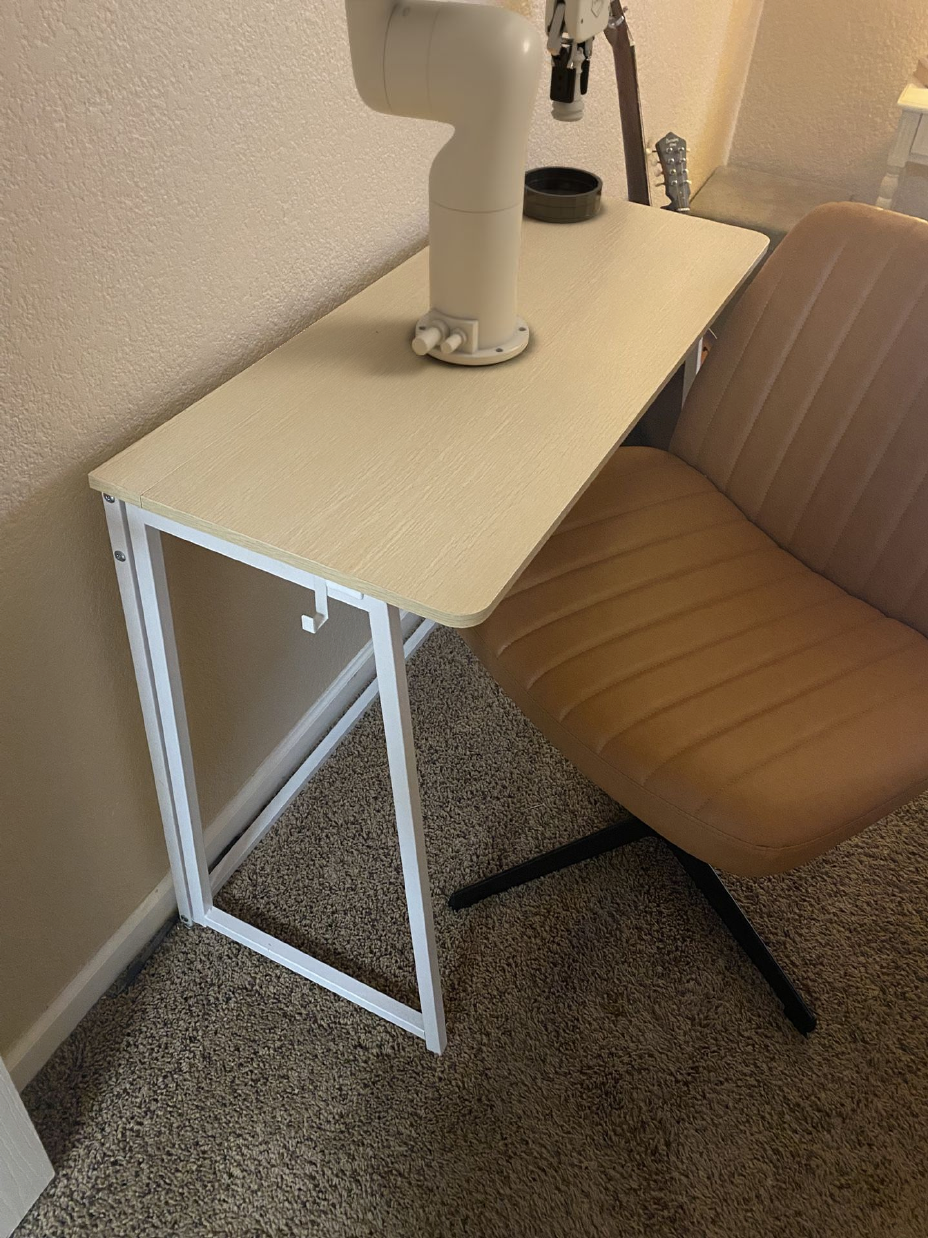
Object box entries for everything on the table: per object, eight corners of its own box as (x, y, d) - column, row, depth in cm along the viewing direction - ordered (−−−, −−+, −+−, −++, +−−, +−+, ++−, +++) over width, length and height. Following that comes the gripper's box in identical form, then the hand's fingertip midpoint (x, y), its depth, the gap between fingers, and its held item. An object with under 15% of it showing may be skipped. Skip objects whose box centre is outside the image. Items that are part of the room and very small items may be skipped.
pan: (579, 229, 127) (582, 202, 124) (503, 211, 131) (504, 185, 128) (612, 201, 134) (615, 175, 132) (539, 185, 138) (541, 160, 136)
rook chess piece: (556, 123, 122) (562, 54, 117) (545, 112, 125) (550, 44, 120) (589, 121, 123) (596, 52, 118) (577, 110, 126) (583, 42, 121)
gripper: (584, -62, 103) (568, 119, 116) (639, -83, 114) (619, 85, 127) (523, -70, 106) (514, 108, 119) (582, -89, 116) (568, 77, 129)
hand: (568, 95), depth 123 cm, fingers closed on rook chess piece, 3 cm apart
